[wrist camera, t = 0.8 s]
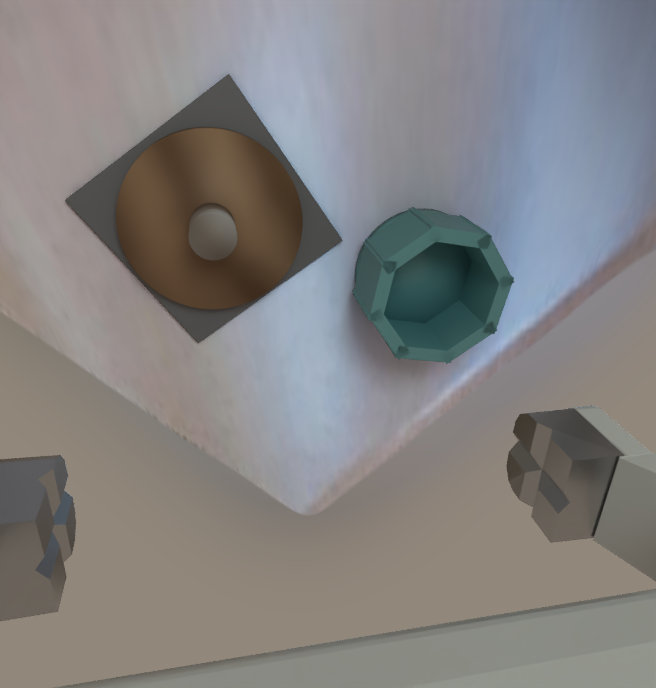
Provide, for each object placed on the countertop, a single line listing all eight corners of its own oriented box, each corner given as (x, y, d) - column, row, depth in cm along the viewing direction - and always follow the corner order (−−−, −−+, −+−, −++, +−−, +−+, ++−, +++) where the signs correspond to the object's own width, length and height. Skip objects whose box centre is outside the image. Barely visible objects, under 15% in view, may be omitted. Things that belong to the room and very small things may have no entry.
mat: (228, 73, 38) (229, 74, 38) (341, 238, 45) (342, 240, 45) (66, 199, 40) (65, 200, 40) (198, 340, 47) (198, 342, 46)
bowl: (440, 179, 45) (472, 198, 39) (495, 281, 50) (530, 309, 44) (328, 259, 46) (344, 287, 40) (393, 350, 51) (415, 386, 45)
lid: (227, 85, 38) (230, 90, 35) (333, 238, 45) (344, 255, 41) (76, 201, 40) (64, 217, 36) (199, 334, 46) (198, 358, 43)
